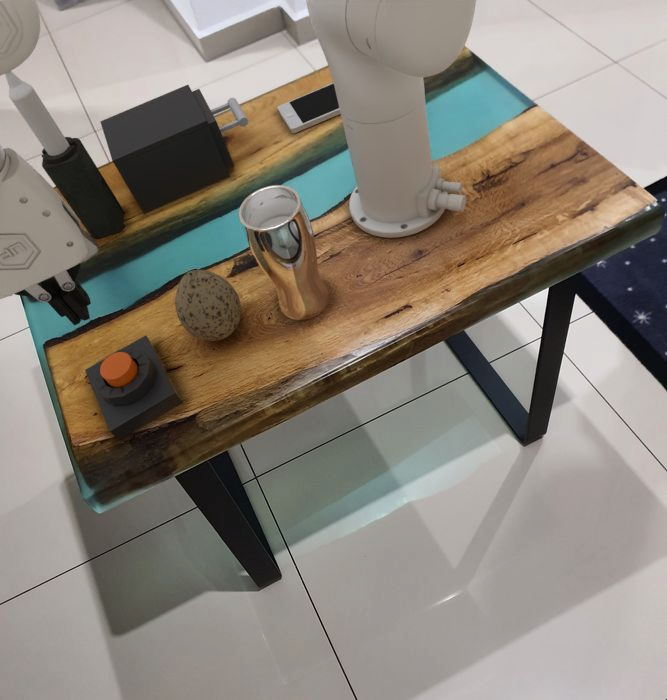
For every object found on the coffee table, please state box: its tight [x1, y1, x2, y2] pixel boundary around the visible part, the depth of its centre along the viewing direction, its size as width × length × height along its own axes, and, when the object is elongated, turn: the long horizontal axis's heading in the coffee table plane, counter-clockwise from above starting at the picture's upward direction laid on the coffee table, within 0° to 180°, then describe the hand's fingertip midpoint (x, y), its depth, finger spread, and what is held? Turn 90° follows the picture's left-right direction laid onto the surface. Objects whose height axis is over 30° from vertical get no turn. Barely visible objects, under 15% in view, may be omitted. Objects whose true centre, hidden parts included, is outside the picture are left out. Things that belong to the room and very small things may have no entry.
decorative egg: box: [174, 269, 242, 342], centre depth 73 cm, size 7×7×10 cm
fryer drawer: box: [192, 88, 249, 170], centre depth 94 cm, size 17×9×8 cm, turn 112°
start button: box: [100, 352, 138, 388], centre depth 71 cm, size 4×4×2 cm
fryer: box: [100, 84, 231, 215], centre depth 93 cm, size 14×11×10 cm
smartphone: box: [277, 82, 341, 134], centre depth 99 cm, size 7×15×1 cm, turn 111°
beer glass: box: [238, 184, 330, 321], centre depth 71 cm, size 7×7×15 cm
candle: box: [4, 70, 126, 240], centre depth 84 cm, size 5×5×25 cm
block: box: [84, 335, 184, 441], centre depth 73 cm, size 10×8×4 cm
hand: (80, 312), depth 64 cm, fingers closed
